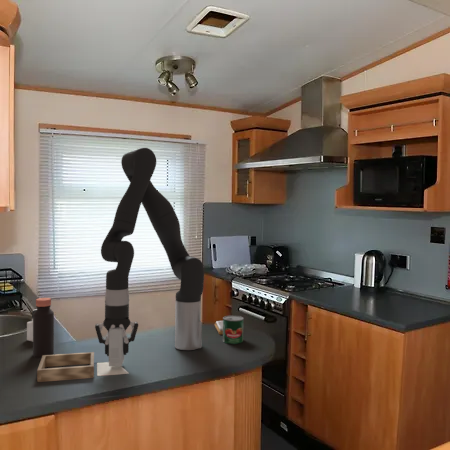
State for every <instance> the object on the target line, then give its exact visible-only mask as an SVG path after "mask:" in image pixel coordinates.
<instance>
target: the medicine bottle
mask: <svg viewBox="0 0 450 450" xmlns="http://www.w3.org/2000/svg"><path fill="white" fill-rule="evenodd" d="M36 310H37V308H36V309H33V310H32V311H31V320H30V321H27V322H26V340H27V341H28V342H32V343H33V313H34V312H35V311H36Z"/></svg>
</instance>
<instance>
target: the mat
mask: <svg viewBox="0 0 450 450" xmlns="http://www.w3.org/2000/svg"><path fill="white" fill-rule="evenodd" d="M125 374H126V375H128V374H129V371H127V370H126V369H125V368H124V367H123V365H122V366H109V361H105V362H97V363H96V375H97V377H104V376H118V375H125Z"/></svg>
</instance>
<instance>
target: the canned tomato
mask: <svg viewBox="0 0 450 450" xmlns="http://www.w3.org/2000/svg"><path fill="white" fill-rule="evenodd" d="M244 319H245V318H244V317H243V316H241V315H225V316H223V317H222V321H223V334H222V342H223V343H224V344H227V345H228V344H229V345H238V344H241V343H243V342H244Z"/></svg>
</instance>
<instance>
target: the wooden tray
mask: <svg viewBox="0 0 450 450" xmlns="http://www.w3.org/2000/svg"><path fill="white" fill-rule="evenodd" d="M88 364H89V365H88ZM62 366H63V367H62ZM47 367H48V368H47ZM94 375H95V351H90V352H75V353H74V352H73V353H57V354H56V353H55V354H53V355H43V356H42V358H40V362H39V365H38V367H37V371H36V376H37V378H36V379H37V383H43V382H55V381H57V382H58V381H69V380H80V379H81V380H83V379H93V378H94V377H95V376H94Z"/></svg>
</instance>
